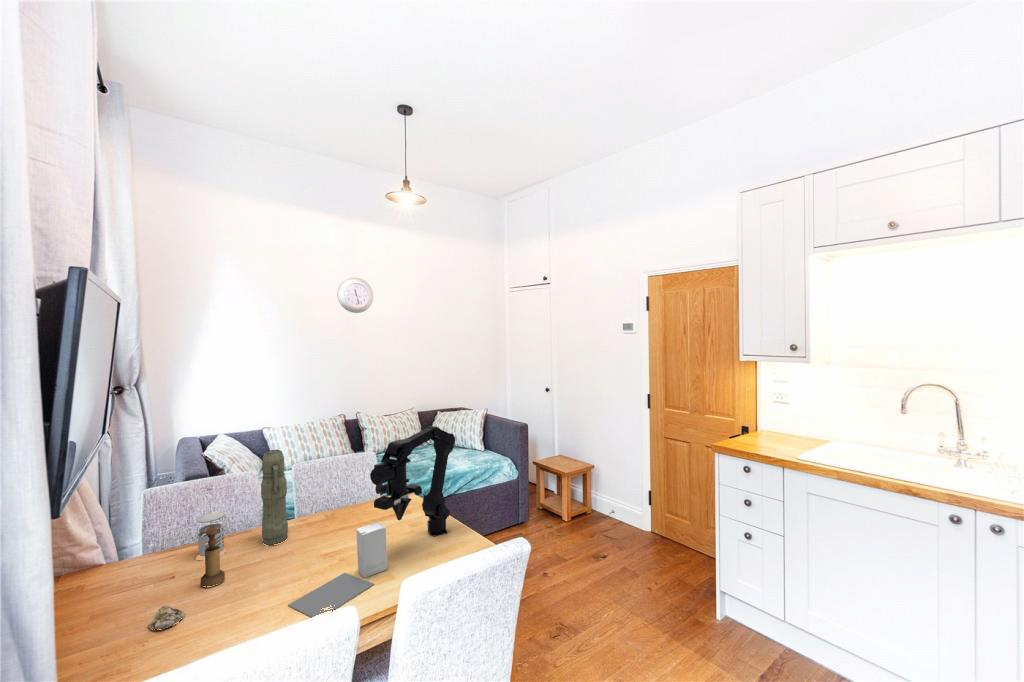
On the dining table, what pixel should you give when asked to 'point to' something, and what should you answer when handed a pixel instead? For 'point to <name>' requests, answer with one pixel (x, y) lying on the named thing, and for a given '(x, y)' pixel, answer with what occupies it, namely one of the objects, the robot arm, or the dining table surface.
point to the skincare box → (371, 549)
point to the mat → (331, 595)
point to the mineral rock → (166, 617)
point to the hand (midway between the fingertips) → (399, 519)
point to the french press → (209, 518)
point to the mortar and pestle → (212, 561)
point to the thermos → (274, 498)
